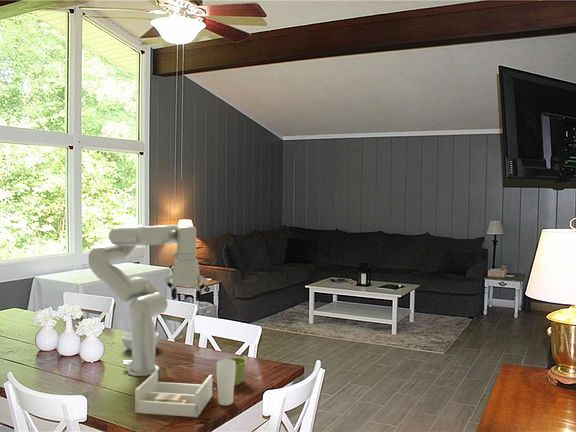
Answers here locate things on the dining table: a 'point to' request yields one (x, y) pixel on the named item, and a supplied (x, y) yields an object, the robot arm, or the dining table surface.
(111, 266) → the robot arm
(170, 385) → the tray
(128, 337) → the cereal bowl
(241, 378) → the plant pot
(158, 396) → the offcut stack
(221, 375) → the drinking glass
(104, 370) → the dining table surface
